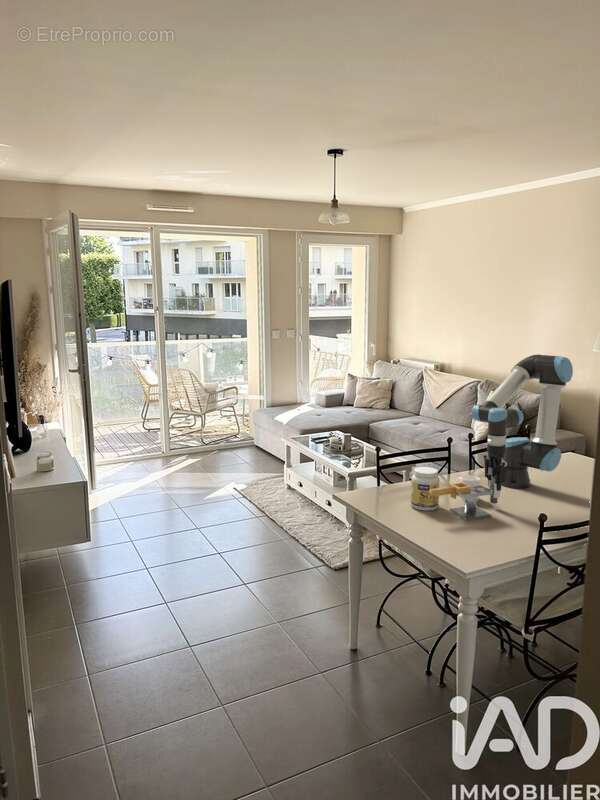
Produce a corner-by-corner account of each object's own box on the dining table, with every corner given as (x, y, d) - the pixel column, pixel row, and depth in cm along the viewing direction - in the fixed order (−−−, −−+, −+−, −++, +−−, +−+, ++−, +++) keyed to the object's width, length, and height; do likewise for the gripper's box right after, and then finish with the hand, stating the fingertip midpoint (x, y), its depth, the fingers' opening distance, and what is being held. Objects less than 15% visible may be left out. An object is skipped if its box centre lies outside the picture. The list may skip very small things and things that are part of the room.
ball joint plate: (472, 507, 262) (473, 481, 260) (491, 516, 251) (492, 489, 249) (444, 511, 257) (445, 485, 254) (462, 521, 245) (463, 494, 243)
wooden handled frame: (460, 493, 254) (461, 482, 254) (470, 498, 249) (470, 486, 248) (426, 498, 248) (427, 487, 247) (435, 503, 242) (435, 492, 241)
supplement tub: (416, 512, 256) (417, 474, 253) (406, 502, 268) (407, 466, 265) (442, 510, 258) (444, 473, 255) (432, 501, 270) (433, 465, 267)
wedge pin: (496, 500, 262) (498, 465, 259) (501, 502, 259) (502, 467, 256) (486, 502, 260) (487, 467, 257) (491, 504, 257) (492, 469, 254)
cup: (471, 503, 266) (472, 481, 265) (449, 496, 276) (450, 475, 274) (482, 499, 271) (483, 478, 270) (461, 492, 281) (462, 472, 279)
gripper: (477, 440, 260) (475, 491, 265) (502, 449, 246) (499, 503, 250) (491, 438, 263) (488, 488, 268) (516, 447, 249) (513, 500, 253)
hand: (494, 495), depth 259 cm, fingers closed on wedge pin, 3 cm apart
